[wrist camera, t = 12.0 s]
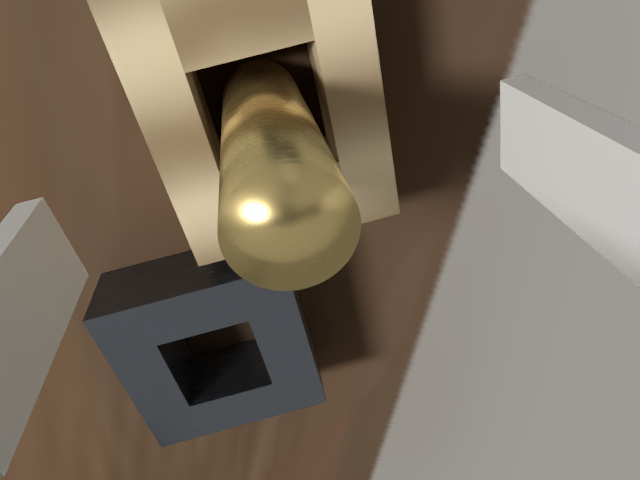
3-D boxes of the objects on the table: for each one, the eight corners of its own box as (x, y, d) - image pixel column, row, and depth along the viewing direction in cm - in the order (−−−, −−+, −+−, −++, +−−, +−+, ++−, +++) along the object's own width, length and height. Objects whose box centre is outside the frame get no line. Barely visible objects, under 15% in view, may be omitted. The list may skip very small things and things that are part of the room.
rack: (104, -15, 20) (83, -9, 17) (341, -73, 20) (360, -77, 17) (202, 230, 26) (198, 266, 23) (381, 183, 27) (400, 213, 24)
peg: (212, 70, 22) (196, 186, 11) (288, 51, 22) (347, 147, 11) (235, 143, 24) (241, 305, 13) (306, 125, 24) (371, 271, 13)
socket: (101, 273, 27) (82, 321, 23) (278, 227, 27) (285, 267, 24) (168, 394, 32) (161, 447, 29) (316, 354, 32) (326, 401, 29)
